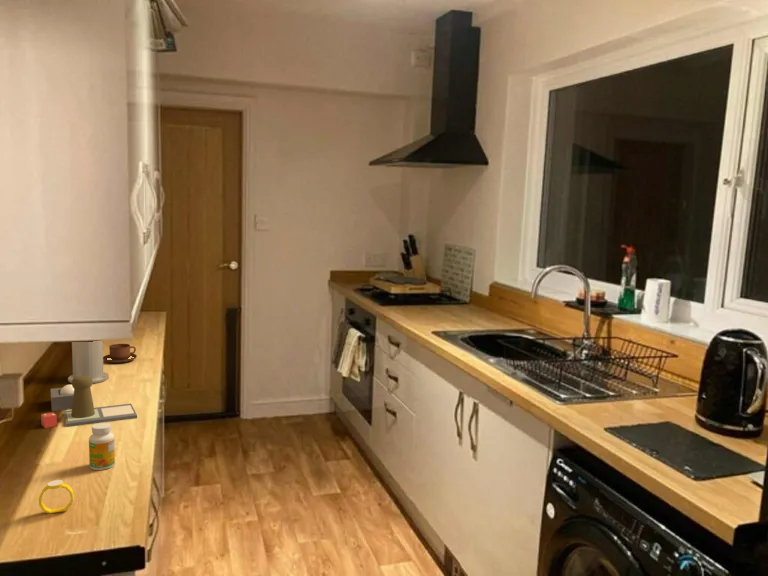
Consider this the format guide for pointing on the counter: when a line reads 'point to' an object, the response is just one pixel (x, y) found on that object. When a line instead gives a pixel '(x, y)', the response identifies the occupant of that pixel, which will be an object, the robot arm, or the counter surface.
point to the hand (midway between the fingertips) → (103, 307)
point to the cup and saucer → (120, 353)
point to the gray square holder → (60, 400)
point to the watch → (55, 485)
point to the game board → (103, 415)
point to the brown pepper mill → (82, 397)
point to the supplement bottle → (101, 447)
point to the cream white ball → (67, 390)
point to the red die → (49, 420)
